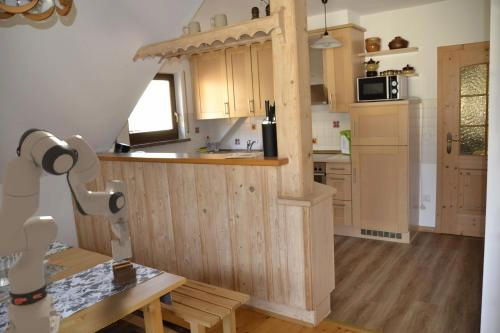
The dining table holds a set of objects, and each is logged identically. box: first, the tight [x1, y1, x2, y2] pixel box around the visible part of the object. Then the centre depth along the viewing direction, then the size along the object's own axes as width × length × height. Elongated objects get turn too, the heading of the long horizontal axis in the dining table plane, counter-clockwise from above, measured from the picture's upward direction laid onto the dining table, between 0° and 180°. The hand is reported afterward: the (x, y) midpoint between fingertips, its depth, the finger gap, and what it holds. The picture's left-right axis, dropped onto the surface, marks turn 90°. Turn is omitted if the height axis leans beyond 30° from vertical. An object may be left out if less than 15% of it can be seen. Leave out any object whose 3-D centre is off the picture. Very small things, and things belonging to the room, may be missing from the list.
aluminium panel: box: [110, 238, 133, 262], centre depth 184 cm, size 2×8×9 cm, turn 120°
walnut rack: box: [111, 260, 138, 286], centre depth 184 cm, size 9×8×6 cm
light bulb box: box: [43, 259, 53, 286], centre depth 180 cm, size 11×7×11 cm, turn 168°
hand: (121, 245), depth 184 cm, fingers closed on aluminium panel, 2 cm apart
